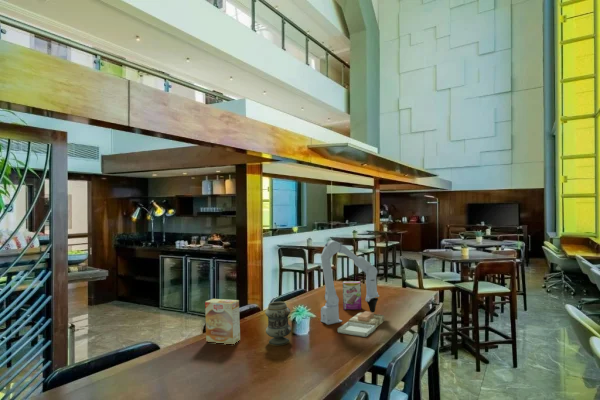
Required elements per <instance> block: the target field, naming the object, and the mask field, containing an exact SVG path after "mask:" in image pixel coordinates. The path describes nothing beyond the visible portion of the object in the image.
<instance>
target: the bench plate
mask: <svg viewBox="0 0 600 400" xmlns="http://www.w3.org/2000/svg"><path fill="white" fill-rule="evenodd" d="M362 313H363V312H361V311H360V312H358V313H357V314H355V315H354V316H353V317H350V319H348V322H355V323H362V324H370V325H375V329H376V328H378V327H379V326H380V325H381V324H383V322H385V315H384V314H377V313H374V316H373V317H372V318H370V319H369V320H368V321H361V320H358V316H359V315H360V314H362Z"/></svg>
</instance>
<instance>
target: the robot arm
mask: <svg viewBox="0 0 600 400" xmlns="http://www.w3.org/2000/svg"><path fill="white" fill-rule="evenodd" d="M337 253H340V254H344V255H345V256H346V257H348V258H349V259H351V260H352V261H353V263H354V265H355V266H356V267H357V268H358V269H360V270H361V271H362V272H363V273H364V274H365V284H366V285H365V288H366V295H365V302H367V305H368V307H369V312H374V313H375V312H376V307H377V302H378V301H379V297H380V294H379V292H378V285H377V283H378V282H377V281H378V280H377V275H378V269H377V268H376V267H375V266H374V265H372V263H371V262H370V261H368V260H366V258H365V257H364V256H361V255H360V256H357V255H356V254H355V253H354V252H353V251H351V250H350V249H349V248H348V247H347V246H346V245H343V244H342V243H340V242H339V241H336V240H334V239H329V240H328V241H327V242H326V243H325V244H324V246H323V249H322V252H321V254H320V260H321V267H322V273H323V279H324V286H325V290H324V291H325V294H324V300H325V301H326V302H325V305H324V306H322V307H320V322H322V323H324V324H326V325H328V326H329V325H333V324H338V323H342V322H343V320H342V319H340V311H339V302H340V299H339V296H338V295H337V290H336V288H335V282H334V277H333V271H332V263H331V259H332V257H333V256H334V255H336V254H337Z"/></svg>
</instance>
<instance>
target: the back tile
mask: <svg viewBox="0 0 600 400" xmlns="http://www.w3.org/2000/svg"><path fill="white" fill-rule="evenodd" d="M361 313H362V314H367V315H370V318H372V317H373V316H374V314H375V312H370V311H366V310H365V311H363V312H361Z"/></svg>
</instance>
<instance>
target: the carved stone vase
mask: <svg viewBox="0 0 600 400" xmlns="http://www.w3.org/2000/svg"><path fill="white" fill-rule="evenodd" d="M267 306H268V307H267V308H266V310H265V311H264V313H265V315H266V317H267V322H268V325H267V327H266V328H265V333H266V335H268V336H269V337H270V339H269V341H268V344H269V345H270V346H273V347H274V346H277V347H278V346H279V347H280V346H284V345H287V344H289V343H290V339H289V338H288V337H287V336H288V335H290V334H291V332H292V326H291V325H290V324H289V315H290V314H291V309H290V308H289V307H288V306H287V303H286V302H285V301H274V302H269V303H268V305H267Z"/></svg>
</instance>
